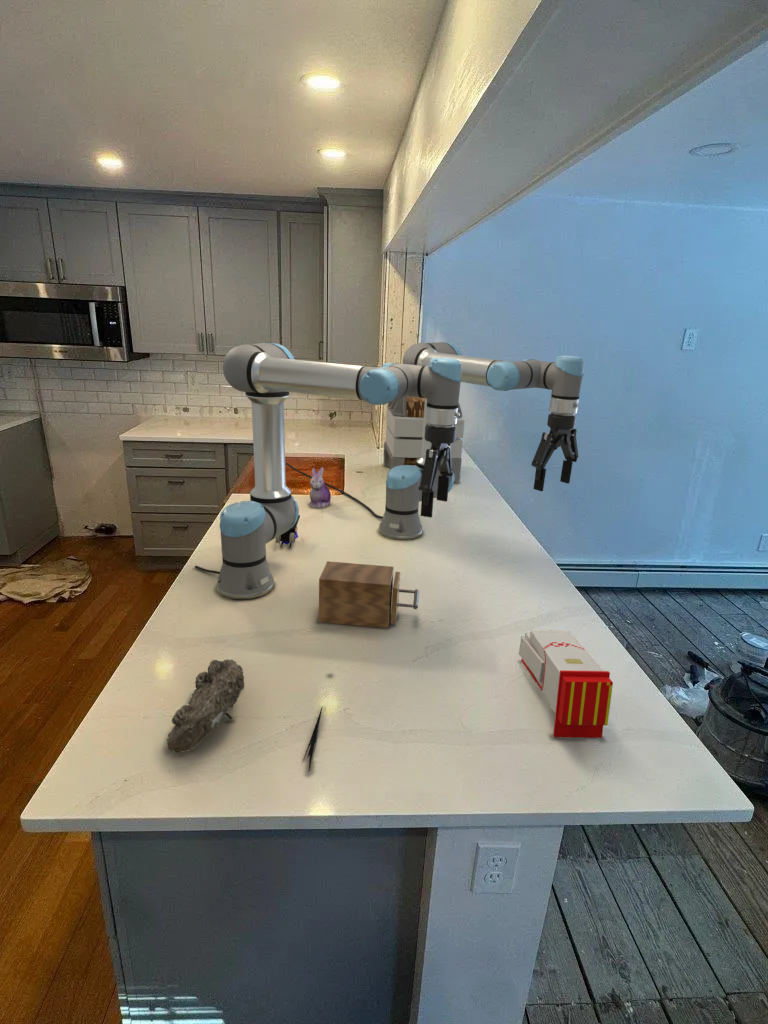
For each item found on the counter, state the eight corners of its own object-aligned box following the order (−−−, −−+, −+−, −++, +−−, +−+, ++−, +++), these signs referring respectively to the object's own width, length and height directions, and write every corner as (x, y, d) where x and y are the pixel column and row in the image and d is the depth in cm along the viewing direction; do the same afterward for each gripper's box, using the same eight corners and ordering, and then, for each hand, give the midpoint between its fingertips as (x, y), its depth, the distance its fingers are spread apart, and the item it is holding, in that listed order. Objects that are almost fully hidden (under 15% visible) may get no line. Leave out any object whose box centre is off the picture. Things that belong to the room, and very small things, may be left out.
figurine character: (295, 554, 183) (301, 532, 196) (295, 533, 179) (300, 512, 193) (274, 553, 183) (281, 531, 196) (273, 533, 179) (280, 512, 193)
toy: (565, 614, 131) (622, 678, 102) (559, 667, 134) (613, 744, 105) (513, 613, 131) (555, 677, 102) (509, 666, 134) (548, 744, 104)
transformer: (382, 463, 289) (386, 382, 275) (445, 464, 293) (451, 384, 279) (390, 482, 257) (394, 392, 243) (460, 483, 261) (468, 394, 247)
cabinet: (391, 607, 151) (393, 566, 146) (387, 628, 141) (390, 584, 137) (326, 602, 152) (327, 561, 148) (318, 622, 142) (319, 578, 138)
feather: (331, 679, 122) (336, 673, 122) (307, 777, 96) (313, 769, 95) (324, 675, 122) (329, 669, 121) (298, 772, 95) (304, 764, 95)
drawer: (418, 607, 149) (420, 573, 146) (416, 626, 140) (419, 590, 137) (337, 600, 151) (338, 566, 147) (331, 618, 142) (332, 582, 139)
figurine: (313, 510, 219) (313, 472, 214) (304, 501, 227) (304, 465, 222) (335, 507, 223) (336, 470, 218) (326, 499, 231) (326, 463, 226)
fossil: (192, 660, 117) (244, 628, 112) (224, 691, 120) (276, 661, 115) (142, 746, 98) (202, 712, 93) (182, 779, 101) (242, 748, 96)
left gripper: (441, 436, 124) (434, 526, 131) (468, 418, 146) (461, 496, 153) (409, 432, 126) (403, 521, 134) (440, 415, 148) (434, 492, 156)
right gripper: (548, 419, 148) (537, 496, 155) (598, 412, 163) (586, 482, 171) (524, 415, 153) (515, 489, 160) (574, 407, 169) (564, 476, 176)
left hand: (434, 508), depth 143 cm, fingers open, 13 cm apart
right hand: (551, 486), depth 165 cm, fingers open, 13 cm apart
